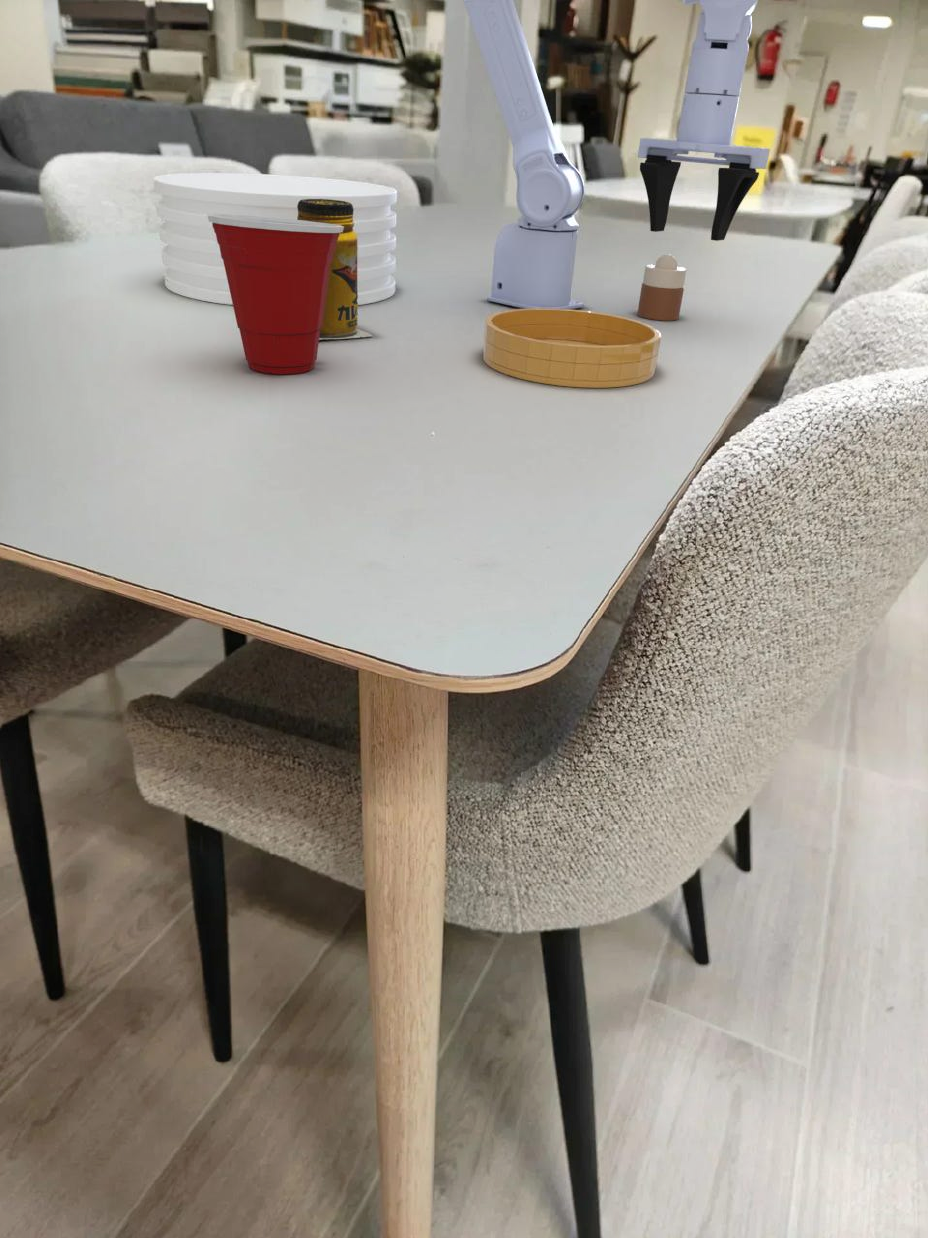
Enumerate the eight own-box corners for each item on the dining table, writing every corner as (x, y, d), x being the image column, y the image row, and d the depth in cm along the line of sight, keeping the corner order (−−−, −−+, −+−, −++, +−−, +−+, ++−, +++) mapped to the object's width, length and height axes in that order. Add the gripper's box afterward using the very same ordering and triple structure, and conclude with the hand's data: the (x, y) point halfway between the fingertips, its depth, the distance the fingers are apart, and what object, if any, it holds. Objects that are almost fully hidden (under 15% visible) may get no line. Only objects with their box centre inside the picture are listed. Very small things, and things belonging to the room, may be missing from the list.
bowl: (447, 358, 80) (449, 319, 79) (549, 336, 91) (553, 302, 90) (591, 398, 72) (597, 356, 70) (685, 369, 82) (692, 331, 81)
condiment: (373, 337, 86) (374, 205, 80) (294, 343, 82) (289, 204, 76) (340, 322, 91) (339, 197, 85) (265, 327, 87) (258, 196, 81)
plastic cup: (365, 360, 78) (366, 215, 72) (309, 389, 69) (304, 226, 63) (260, 344, 81) (252, 203, 75) (192, 370, 72) (177, 212, 66)
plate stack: (384, 315, 95) (385, 201, 90) (131, 299, 95) (116, 183, 89) (403, 274, 120) (405, 183, 114) (201, 261, 119) (193, 168, 113)
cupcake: (629, 314, 104) (638, 252, 101) (650, 310, 108) (660, 250, 104) (665, 322, 102) (676, 259, 98) (686, 317, 105) (697, 256, 101)
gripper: (632, 90, 92) (613, 228, 99) (761, 96, 84) (730, 246, 91) (664, 94, 97) (644, 225, 103) (788, 100, 89) (758, 242, 96)
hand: (686, 235), depth 98 cm, fingers open, 7 cm apart
